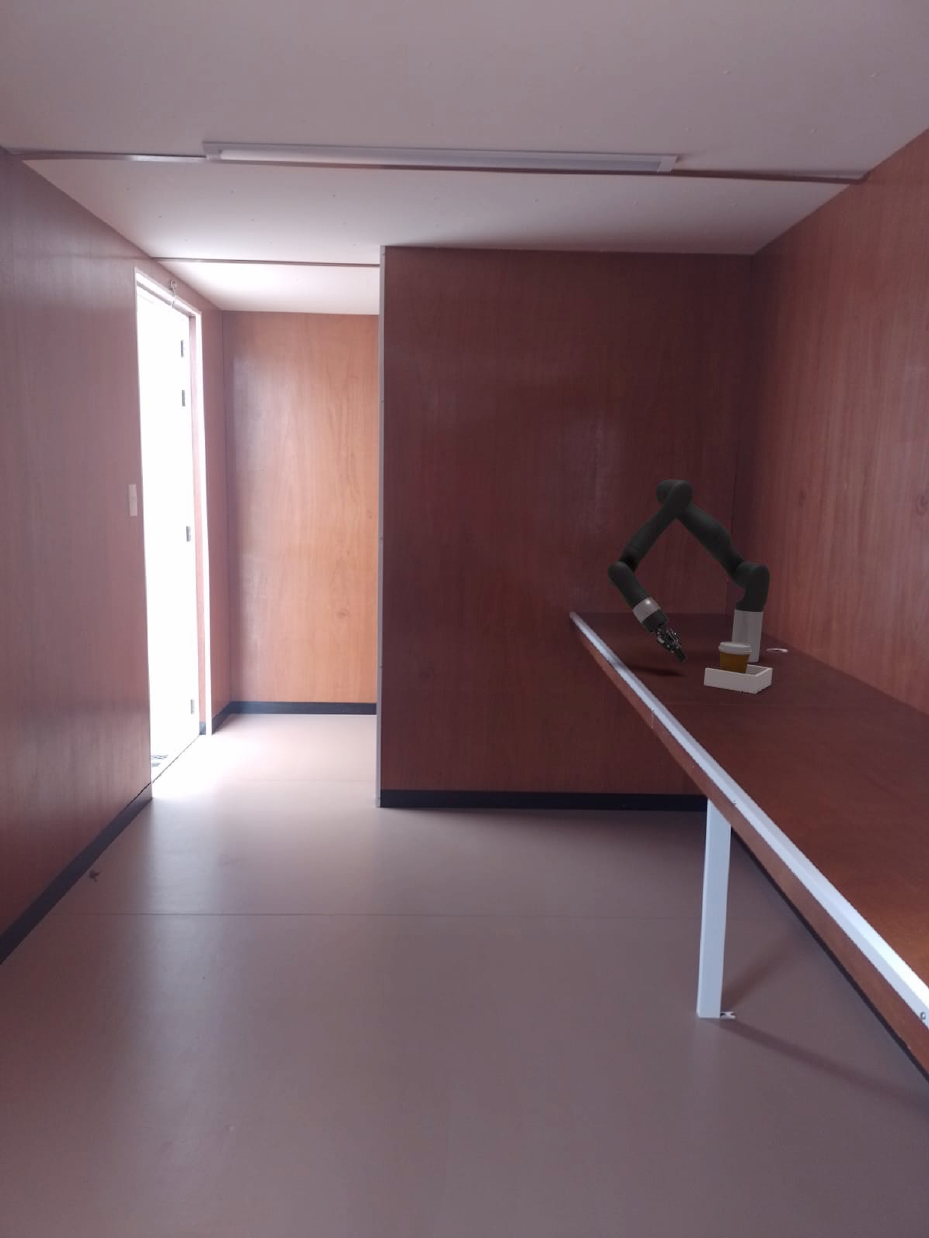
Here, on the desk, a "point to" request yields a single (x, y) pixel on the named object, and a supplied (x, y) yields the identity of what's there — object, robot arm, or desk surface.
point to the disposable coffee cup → (734, 656)
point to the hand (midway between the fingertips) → (684, 659)
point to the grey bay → (740, 679)
